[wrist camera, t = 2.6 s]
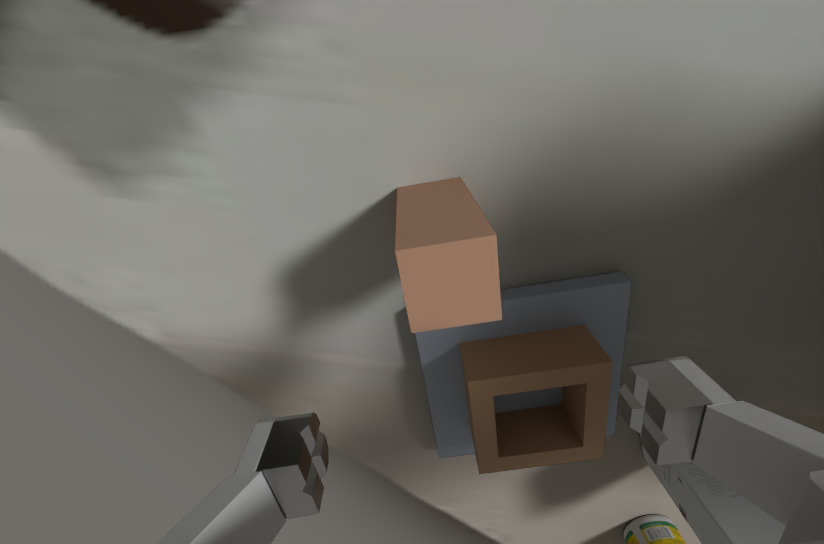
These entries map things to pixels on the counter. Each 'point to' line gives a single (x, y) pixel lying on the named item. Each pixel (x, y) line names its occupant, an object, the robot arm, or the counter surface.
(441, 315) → the terracotta peg
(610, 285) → the collar socket
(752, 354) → the counter surface
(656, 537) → the supplement bottle
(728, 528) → the skincare box
